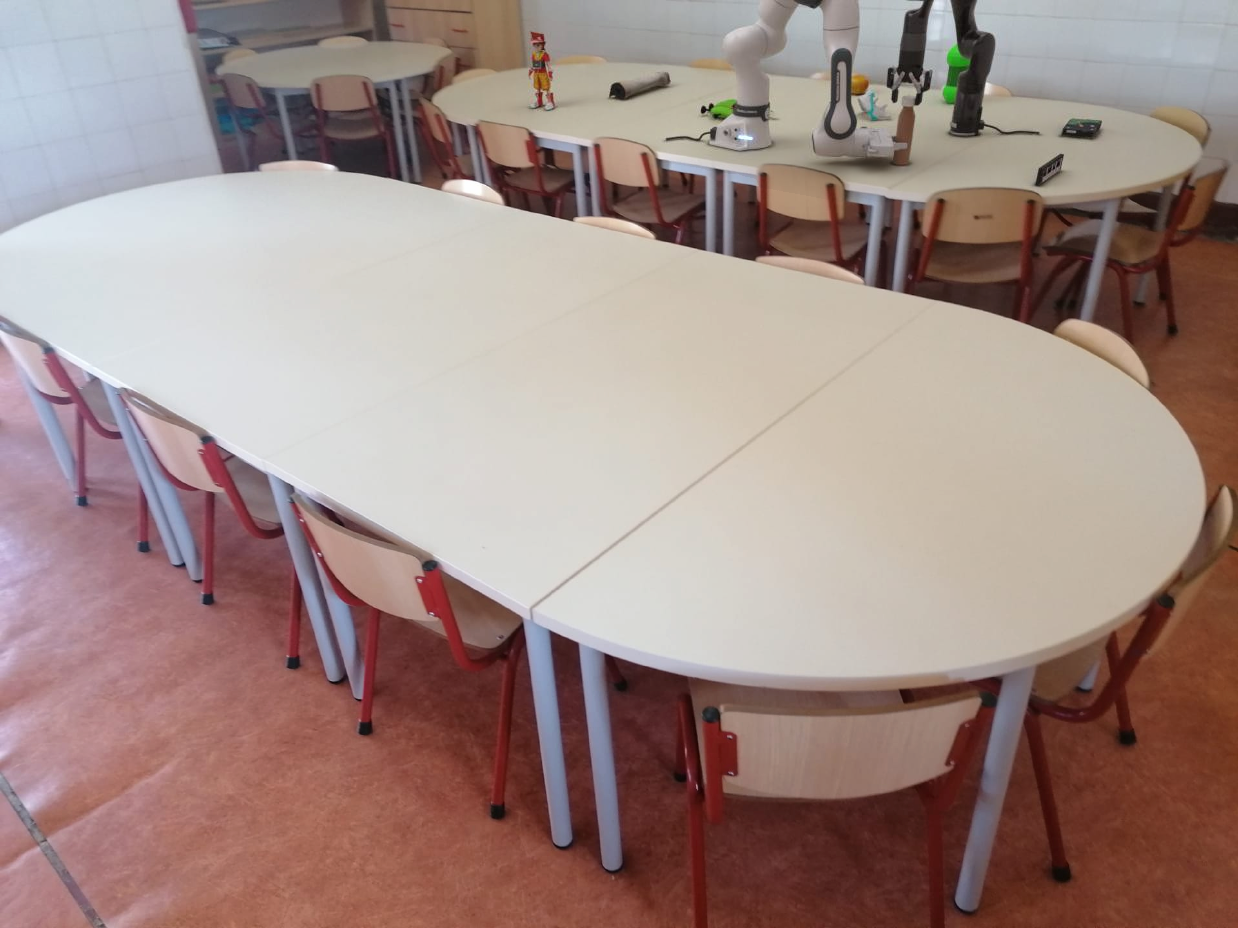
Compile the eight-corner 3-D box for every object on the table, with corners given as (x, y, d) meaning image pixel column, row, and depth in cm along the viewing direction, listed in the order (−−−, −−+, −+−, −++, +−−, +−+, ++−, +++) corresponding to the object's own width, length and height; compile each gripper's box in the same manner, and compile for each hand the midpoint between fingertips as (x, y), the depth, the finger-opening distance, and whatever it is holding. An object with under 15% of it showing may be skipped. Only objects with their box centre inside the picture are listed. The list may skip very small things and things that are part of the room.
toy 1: (525, 109, 381) (517, 32, 364) (534, 104, 388) (527, 28, 371) (550, 110, 377) (543, 32, 360) (559, 105, 384) (553, 28, 367)
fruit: (842, 86, 371) (854, 68, 368) (844, 90, 378) (856, 72, 375) (859, 97, 369) (871, 79, 366) (861, 100, 377) (873, 83, 374)
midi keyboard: (1039, 185, 269) (1043, 168, 266) (1035, 184, 270) (1038, 168, 267) (1060, 170, 279) (1064, 154, 277) (1056, 169, 280) (1060, 153, 277)
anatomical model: (852, 89, 345) (878, 82, 344) (855, 116, 351) (880, 109, 350) (864, 98, 333) (891, 91, 332) (866, 126, 338) (893, 119, 338)
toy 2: (691, 117, 351) (761, 130, 338) (692, 103, 348) (762, 116, 335) (722, 107, 371) (789, 118, 359) (724, 93, 368) (791, 105, 356)
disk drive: (1093, 139, 305) (1100, 128, 315) (1095, 131, 303) (1102, 120, 313) (1060, 136, 309) (1068, 125, 319) (1062, 128, 308) (1070, 117, 318)
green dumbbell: (973, 101, 354) (984, 32, 339) (955, 106, 349) (966, 36, 335) (952, 97, 361) (962, 29, 346) (934, 102, 356) (944, 33, 342)
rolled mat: (651, 76, 408) (662, 61, 399) (662, 93, 408) (674, 79, 400) (605, 92, 391) (616, 77, 383) (617, 110, 391) (628, 95, 383)
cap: (912, 107, 282) (913, 99, 280) (898, 105, 284) (899, 98, 283) (917, 104, 285) (919, 96, 283) (904, 102, 287) (905, 95, 286)
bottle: (889, 163, 294) (897, 100, 283) (896, 159, 298) (905, 96, 286) (904, 166, 292) (913, 101, 280) (911, 162, 295) (920, 98, 283)
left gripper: (865, 142, 283) (910, 141, 281) (861, 125, 299) (904, 124, 297) (863, 162, 287) (907, 161, 284) (859, 144, 303) (902, 143, 301)
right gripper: (940, 47, 274) (932, 104, 283) (896, 43, 282) (890, 99, 291) (929, 52, 269) (922, 109, 279) (885, 48, 277) (879, 104, 286)
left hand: (906, 142), depth 291 cm, fingers closed on bottle, 5 cm apart
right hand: (905, 103), depth 285 cm, fingers open, 7 cm apart
